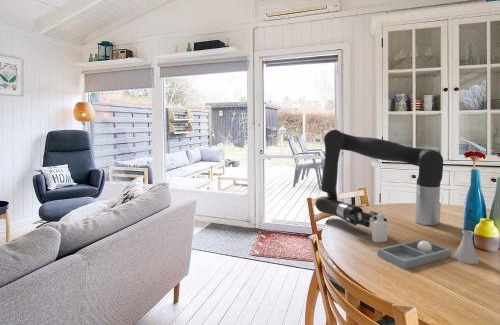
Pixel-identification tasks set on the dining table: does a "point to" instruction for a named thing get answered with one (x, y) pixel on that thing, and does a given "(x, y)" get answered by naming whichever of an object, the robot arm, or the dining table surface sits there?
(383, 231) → the eye dropper bottle
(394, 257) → the holder
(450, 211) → the dining table surface
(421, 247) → the ceramic egg
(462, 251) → the flask
